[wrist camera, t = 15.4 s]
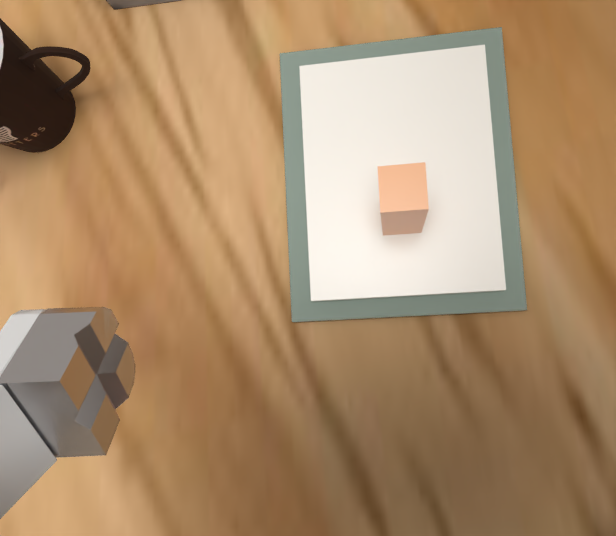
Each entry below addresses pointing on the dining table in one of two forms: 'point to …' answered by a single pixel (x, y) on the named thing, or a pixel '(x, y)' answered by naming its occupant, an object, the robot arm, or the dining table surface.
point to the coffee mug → (34, 94)
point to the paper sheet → (401, 176)
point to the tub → (134, 3)
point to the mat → (505, 178)
